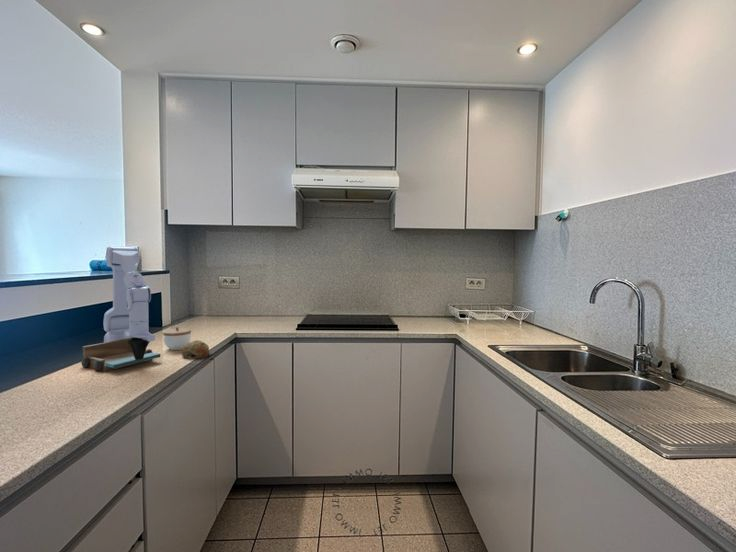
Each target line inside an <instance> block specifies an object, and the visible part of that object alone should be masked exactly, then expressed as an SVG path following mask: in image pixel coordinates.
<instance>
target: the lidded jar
mask: <svg viewBox="0 0 736 552" xmlns="http://www.w3.org/2000/svg"><path fill="white" fill-rule="evenodd" d="M162 335H163V336H162V337H163V338H162V339H163V343H164V345H165V347H166V348H168V349H169V350H170V351H178V350H180V351H182V349H183V347H184V346H185V345H186V344H188V343H190V342H191V337H192V336H191V335H192V329H191V328H185V327H184V328H182V327H181V328H179V326H176V327H175V328H170V329H167V330H163V331H162Z"/></svg>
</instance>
